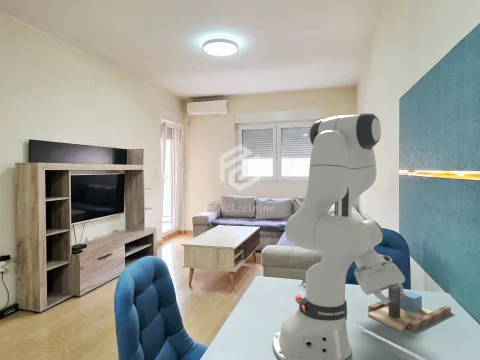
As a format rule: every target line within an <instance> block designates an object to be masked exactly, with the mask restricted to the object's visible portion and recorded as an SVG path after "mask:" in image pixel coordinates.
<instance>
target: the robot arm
mask: <svg viewBox="0 0 480 360" xmlns="http://www.w3.org/2000/svg"><path fill="white" fill-rule="evenodd" d="M381 135H382V127H381V122H380V119H379V118H378V117H377V116H376V115H375V114H373V113H366V112H365V113H363V112H362V113H360V114H346V115H343V114H342V115H336V116H332V117H327V118H321V119H319V120H317V121H315V122H314V123H313V124H312V125H311V127H310V129H309V139H310V144H311V145H312V148H311V151H310V152H311V153H310V159H309V171H308V172H309V173H308V181H307V189H306V193H305V197H304V199H303V201H302V204H301V205H300V207H299V208H298V209H297V210H296V212H294V213H292V215H290V216H289V218H288V219H287V220H286V223H285V229H284V231H285V232H284V233H285V237H286V239H287V240H288V242H289V243H290V244H293V245H295V246H297V247H299V248H301V249H305V250H310V251H316V252H320V253H321V259H320V261H319V262H317V263H315V264H313V265H311V266H310V267H309V268H308V269H307V271H306V272H305V276H306V277H305V280H306V284H305V287H306V289H305V296H304V297H302V296H301V295H300V294H297V295H296V296H295V298H294V299H295V301H296V303H297V304H298V309H297V310H295V311H294V312H293V313H291V314H289V316H287V317H286V318H284V319H283V321H282V322H281V326H280V331H276V332H275V334H274V335H273V337H272V349H273V351H274V354H275V355H276V356H277V358H278V359H279V360H346V359H348V358H349V357H350V355H351V354H352V346H351V343H350V340H349V335H348V334H349V333H348V329H347V319H348V306H347V305H348V303H347V300H346V281H347V275H348V270H349V269H350V267H351V265H352V264H353V263H354V264H355V265H356V268H355V269H354V273H353V274H354V276H355V279H356V281H357V284H358V285H359V287H360V289H361V291H362V292H363V293H364V294H365V295H366V296H369V295H373V294H374V296H375V297H376V298H377V299H379V300H380V301H382V302H383V303H384V305H386V304H388V303H390V300H389V299H388V296H385V295H384V294H383V292H382V291H385V290H388V286H389V285H397V286H399V287H400V298H404V297H406V296H407V295H406V294H405V292H406V291H404V288H403V287H404V286H403V283H404V282H405V281H406V278H405V275H404V274H403V273H402V271H401V270H400V269H399V267H398V266H397V265H396V264H395V263H394V262H393V259H392V257H390V256H389V255H383V254H380V253H378V252H377V251H376V250H375V247H376V246H378V245H379V244H381V243H382V242H383V240H384V231H383V229H382V226H380V225H379V223H378V222H377V221H375V220H373V219H365V220H358V219H356V218H354V217H353V218H352V208H353V205H354V203H355V201H357V199H358V198H359V197H360V196H361V195H362V194H364V193H365V192H366V191H368V190H369V189H370V188H371V187H372V186H373V185H374V183H375V182H376V179H377V161H376V156H375V151H374V147H375V146H376V145H377V144H378V143H379V141H380V139H381ZM333 205H334V214H332V215H331V214H330V210H331V207H333Z"/></svg>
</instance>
